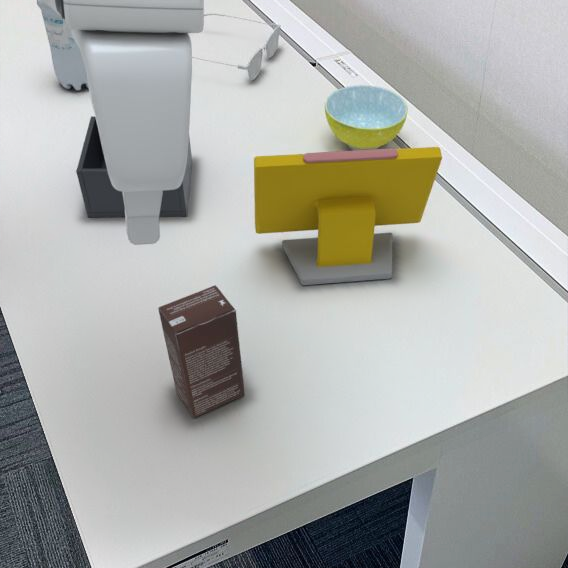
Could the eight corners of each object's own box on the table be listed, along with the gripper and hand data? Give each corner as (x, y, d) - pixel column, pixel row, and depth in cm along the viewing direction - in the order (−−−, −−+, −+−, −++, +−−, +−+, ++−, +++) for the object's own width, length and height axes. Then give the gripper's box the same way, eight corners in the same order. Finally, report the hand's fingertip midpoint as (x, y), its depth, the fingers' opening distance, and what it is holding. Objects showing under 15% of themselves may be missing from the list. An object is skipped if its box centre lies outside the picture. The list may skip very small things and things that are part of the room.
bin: (87, 217, 96) (76, 171, 91) (100, 161, 104) (90, 116, 99) (187, 216, 97) (181, 170, 92) (192, 161, 105) (187, 116, 100)
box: (225, 367, 80) (216, 282, 72) (246, 396, 78) (239, 311, 69) (171, 390, 78) (156, 305, 69) (191, 421, 75) (177, 336, 67)
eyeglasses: (248, 88, 119) (247, 64, 116) (141, 67, 122) (137, 42, 119) (282, 45, 129) (282, 21, 126) (182, 26, 132) (180, 2, 129)
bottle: (46, 84, 117) (11, -57, 102) (81, 67, 121) (51, -70, 106) (77, 99, 114) (45, -43, 100) (111, 81, 118) (85, -57, 103)
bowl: (343, 174, 105) (345, 134, 100) (311, 131, 112) (312, 92, 107) (416, 158, 108) (422, 119, 104) (381, 117, 115) (385, 78, 111)
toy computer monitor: (414, 234, 97) (431, 122, 85) (429, 276, 92) (449, 163, 80) (255, 245, 94) (250, 131, 82) (261, 289, 89) (256, 174, 77)
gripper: (52, -53, 49) (74, 159, 56) (63, -6, 33) (92, 284, 40) (153, -47, 51) (162, 157, 58) (210, 0, 35) (213, 275, 42)
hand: (134, 210), depth 49 cm, fingers open, 8 cm apart
